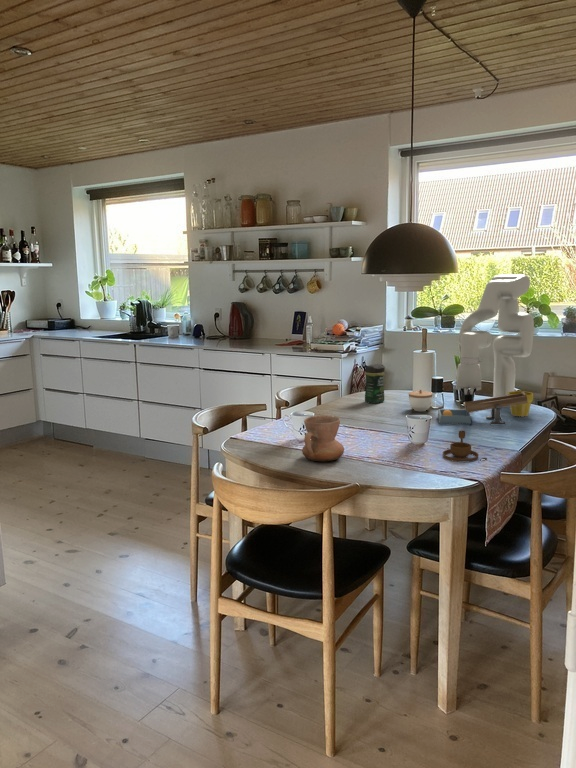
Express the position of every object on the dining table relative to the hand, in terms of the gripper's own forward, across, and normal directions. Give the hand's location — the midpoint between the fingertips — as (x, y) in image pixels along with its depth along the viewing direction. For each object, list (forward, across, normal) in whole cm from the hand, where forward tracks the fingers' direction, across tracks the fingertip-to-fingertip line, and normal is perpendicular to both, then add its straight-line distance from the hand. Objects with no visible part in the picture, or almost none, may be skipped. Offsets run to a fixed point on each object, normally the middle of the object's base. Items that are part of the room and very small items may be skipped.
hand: (467, 403), depth 271 cm
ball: (+3, +9, +9) cm, 13 cm away
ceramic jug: (+7, +56, +67) cm, 88 cm away
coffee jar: (+6, +41, -27) cm, 49 cm away
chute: (-1, -10, +4) cm, 11 cm away
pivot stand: (+6, -10, +9) cm, 15 cm away
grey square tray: (+6, +7, +9) cm, 12 cm away
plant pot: (+6, -22, -3) cm, 23 cm away
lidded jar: (+6, +20, -11) cm, 23 cm away
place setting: (+7, +7, +57) cm, 58 cm away
